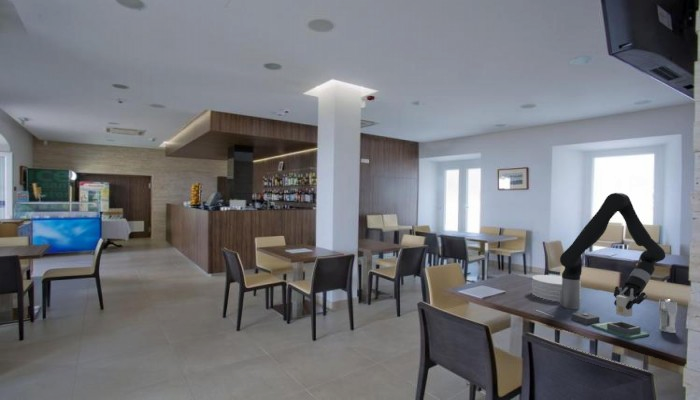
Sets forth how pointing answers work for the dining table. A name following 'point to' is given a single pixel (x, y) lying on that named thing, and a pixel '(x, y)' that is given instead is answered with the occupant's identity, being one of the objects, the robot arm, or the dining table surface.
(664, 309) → the beer glass
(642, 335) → the board
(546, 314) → the butter knife
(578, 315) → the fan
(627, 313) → the plug
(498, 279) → the dining table surface
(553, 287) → the plate stack
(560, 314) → the dining table surface
